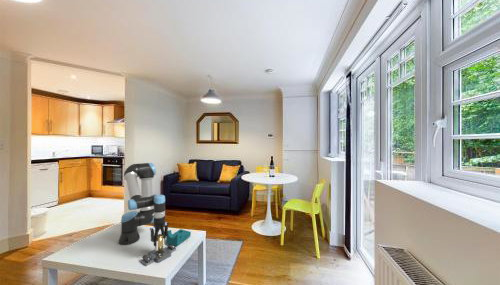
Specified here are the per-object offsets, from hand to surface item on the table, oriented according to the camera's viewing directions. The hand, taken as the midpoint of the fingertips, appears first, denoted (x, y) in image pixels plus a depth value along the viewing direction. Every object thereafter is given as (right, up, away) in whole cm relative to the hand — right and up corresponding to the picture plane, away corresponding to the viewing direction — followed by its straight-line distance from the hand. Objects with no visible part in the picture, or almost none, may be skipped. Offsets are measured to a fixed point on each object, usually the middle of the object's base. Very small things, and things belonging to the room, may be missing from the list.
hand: (159, 248), depth 144 cm
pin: (0, -3, 0) cm, 3 cm away
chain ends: (0, -6, 0) cm, 6 cm away
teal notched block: (+6, -6, +23) cm, 24 cm away
